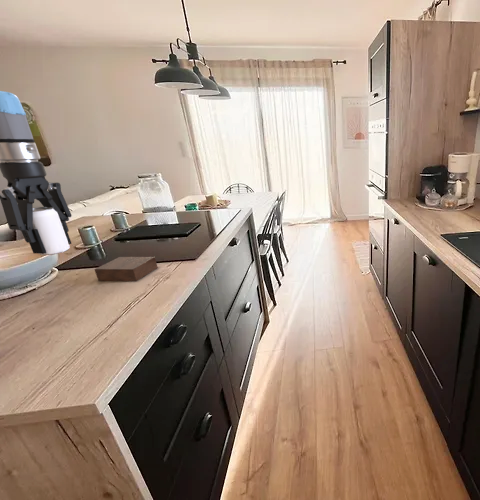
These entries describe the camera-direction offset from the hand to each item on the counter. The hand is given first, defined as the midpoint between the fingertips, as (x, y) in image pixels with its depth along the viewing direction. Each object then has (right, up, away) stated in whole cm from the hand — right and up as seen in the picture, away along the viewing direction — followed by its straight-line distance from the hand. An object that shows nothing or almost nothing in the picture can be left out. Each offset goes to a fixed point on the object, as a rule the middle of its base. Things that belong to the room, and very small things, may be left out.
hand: (53, 248), depth 79 cm
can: (0, -1, 0) cm, 1 cm away
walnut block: (+11, -8, +14) cm, 19 cm away
